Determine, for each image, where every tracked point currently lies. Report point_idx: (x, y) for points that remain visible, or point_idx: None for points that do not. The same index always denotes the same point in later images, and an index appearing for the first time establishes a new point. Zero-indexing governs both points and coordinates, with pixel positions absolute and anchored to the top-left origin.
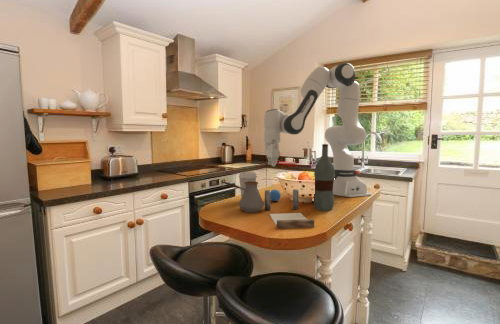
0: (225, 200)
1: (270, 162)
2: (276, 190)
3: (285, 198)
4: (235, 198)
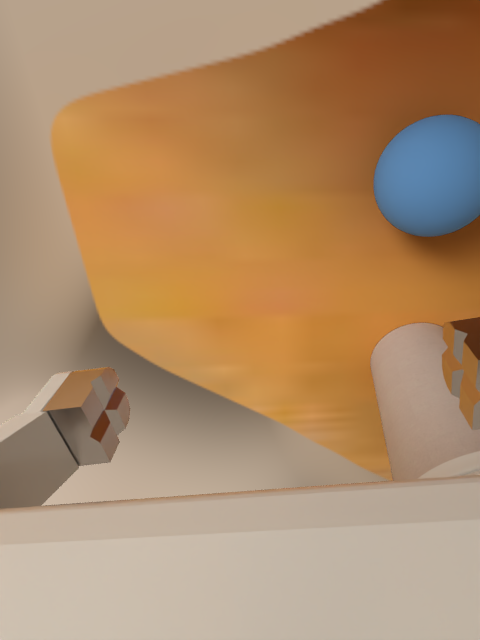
0: (362, 465)
1: (103, 411)
2: (478, 171)
3: (322, 54)
4: (314, 425)
